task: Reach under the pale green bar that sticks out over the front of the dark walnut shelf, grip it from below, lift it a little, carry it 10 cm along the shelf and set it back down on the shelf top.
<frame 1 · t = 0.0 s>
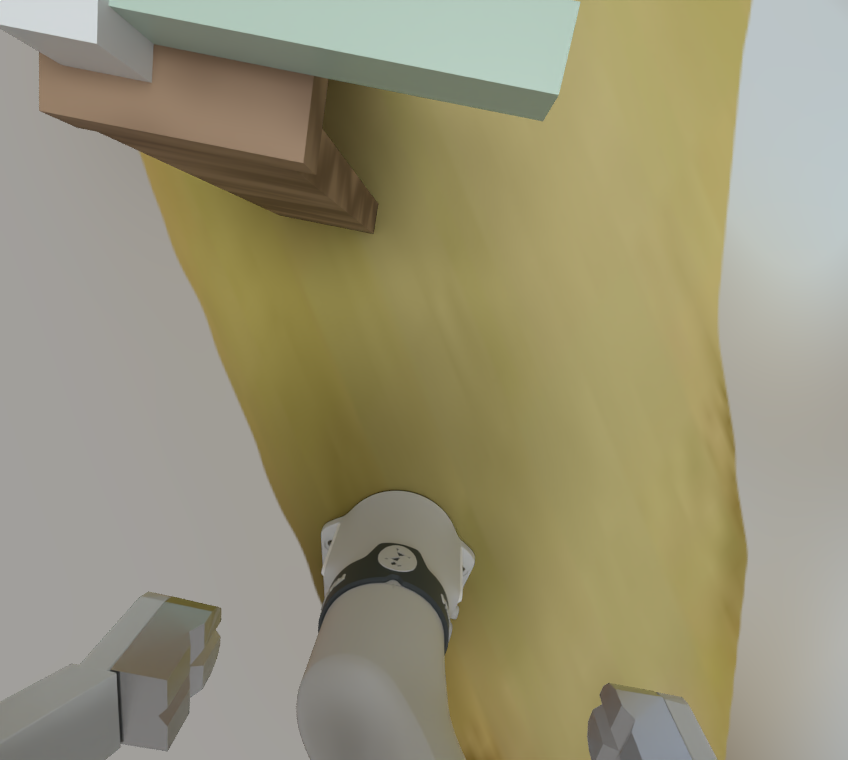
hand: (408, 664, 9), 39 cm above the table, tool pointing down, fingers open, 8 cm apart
shelf: (340, 120, 42), on the table
pale green bar: (272, 26, 18), point 26 cm above the table, touching shelf
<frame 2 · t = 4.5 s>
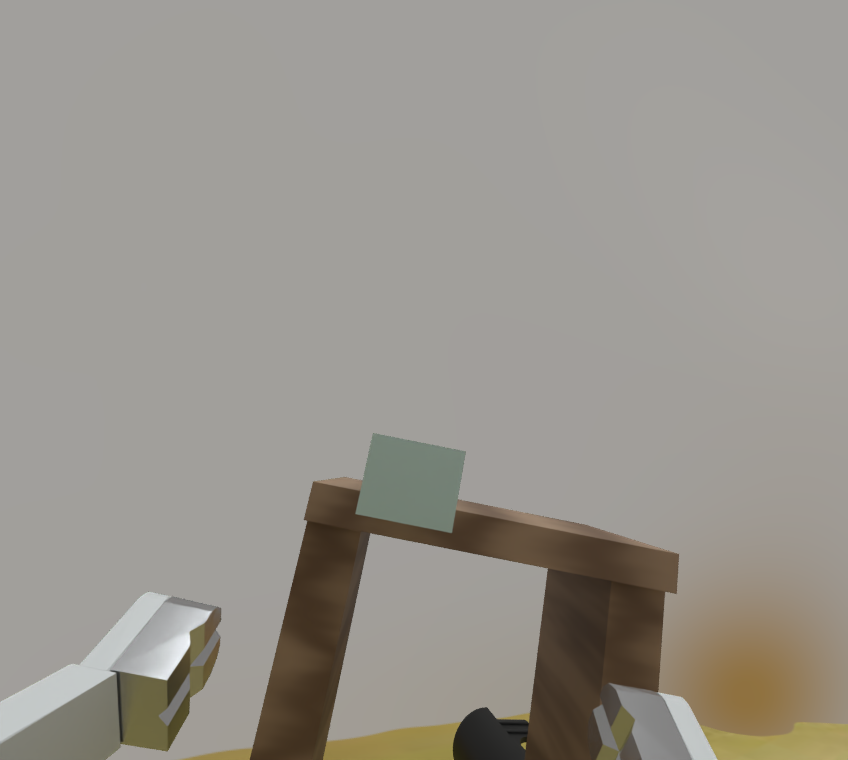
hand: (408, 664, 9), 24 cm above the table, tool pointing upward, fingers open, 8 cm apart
pale green bar: (404, 497, 25), point 26 cm above the table, touching shelf
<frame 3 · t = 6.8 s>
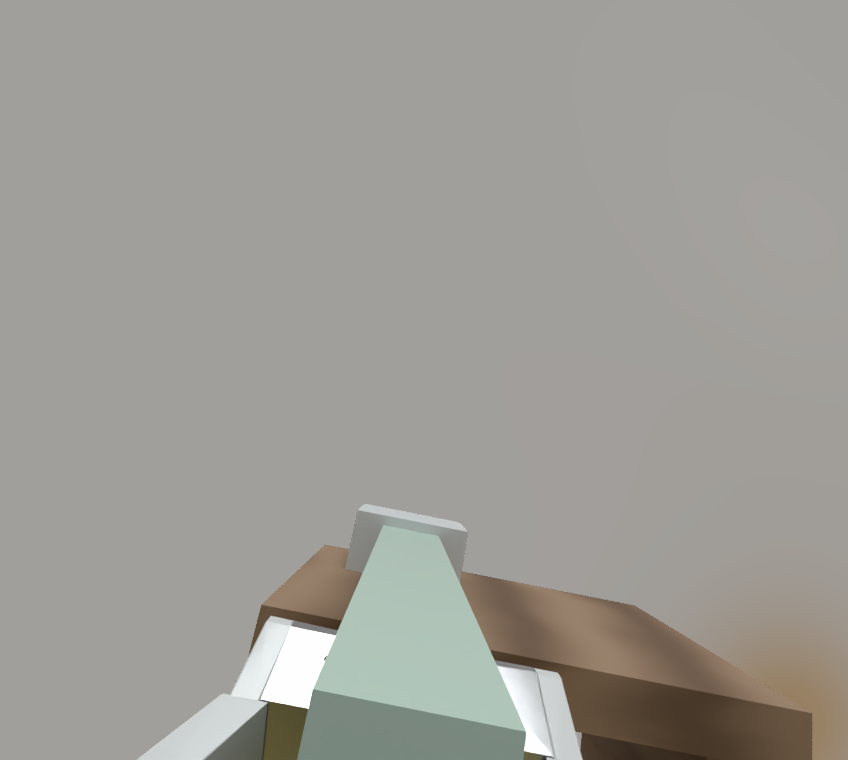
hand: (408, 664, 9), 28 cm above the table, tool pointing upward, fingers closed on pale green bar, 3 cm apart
pale green bar: (399, 612, 17), point 26 cm above the table, touching gripper, shelf
when the fingers open (29 cm above the table, at t = 10.8 s): pale green bar stays where it is, resting on shelf.
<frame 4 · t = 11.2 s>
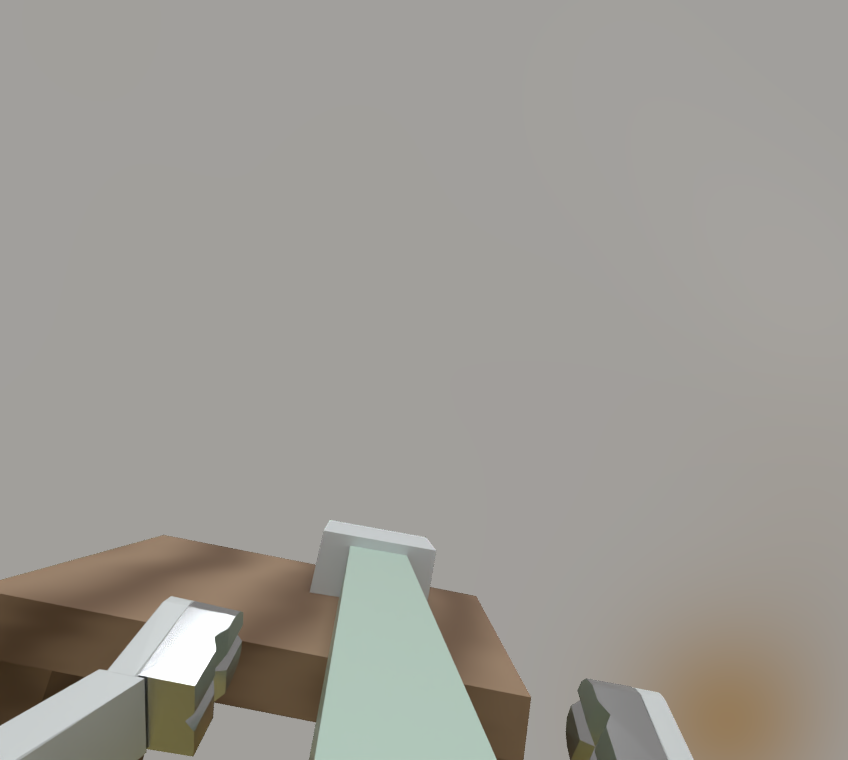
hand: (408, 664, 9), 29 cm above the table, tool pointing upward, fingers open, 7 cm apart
pale green bar: (369, 643, 17), point 26 cm above the table, touching shelf
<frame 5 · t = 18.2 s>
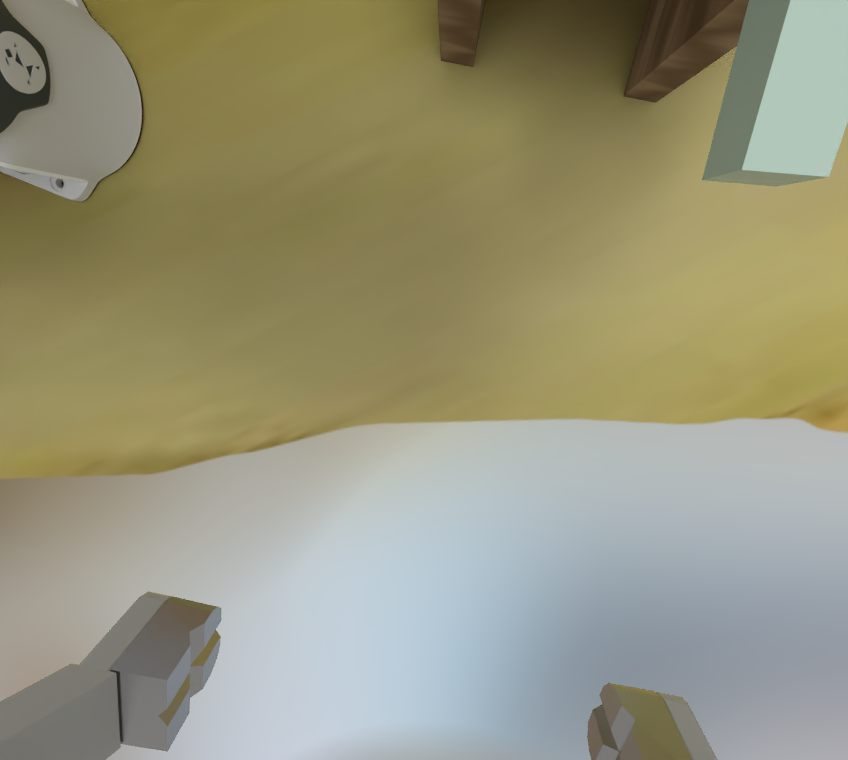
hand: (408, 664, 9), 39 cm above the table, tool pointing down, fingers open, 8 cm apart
shelf: (563, 15, 37), on the table
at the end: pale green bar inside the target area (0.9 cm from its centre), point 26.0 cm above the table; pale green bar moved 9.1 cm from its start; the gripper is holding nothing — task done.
